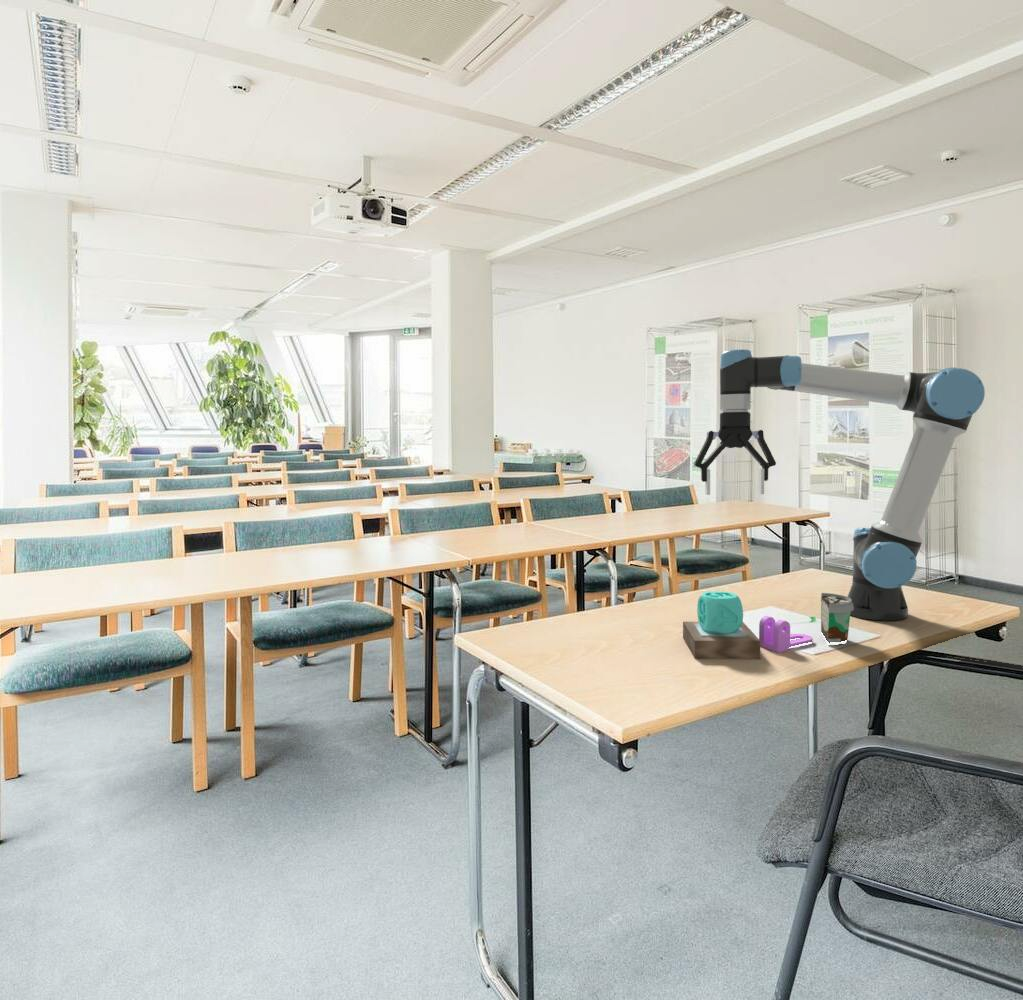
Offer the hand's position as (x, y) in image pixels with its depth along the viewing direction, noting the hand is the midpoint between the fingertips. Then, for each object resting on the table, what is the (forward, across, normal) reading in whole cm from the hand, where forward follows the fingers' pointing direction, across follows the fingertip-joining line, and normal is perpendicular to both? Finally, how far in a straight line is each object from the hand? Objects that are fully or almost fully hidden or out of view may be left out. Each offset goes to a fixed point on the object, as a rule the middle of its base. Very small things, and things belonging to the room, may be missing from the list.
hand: (734, 494), depth 196 cm
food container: (+33, -20, +21) cm, 44 cm away
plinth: (+33, +9, +27) cm, 43 cm away
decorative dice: (+28, +9, +27) cm, 40 cm away
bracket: (+33, -7, +24) cm, 42 cm away
